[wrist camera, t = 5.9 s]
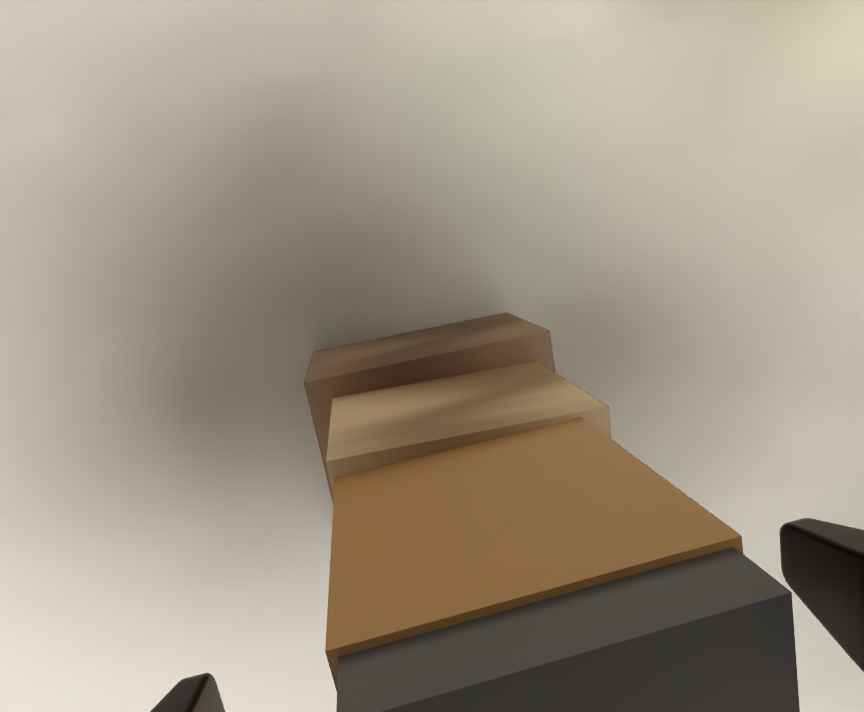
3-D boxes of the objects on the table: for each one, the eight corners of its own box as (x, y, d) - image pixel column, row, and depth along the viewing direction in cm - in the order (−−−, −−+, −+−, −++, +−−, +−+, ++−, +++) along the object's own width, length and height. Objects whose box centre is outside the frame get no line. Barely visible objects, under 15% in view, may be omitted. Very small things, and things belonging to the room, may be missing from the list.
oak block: (535, 360, 14) (608, 406, 10) (556, 543, 15) (629, 648, 11) (332, 398, 13) (326, 461, 10) (369, 584, 14) (376, 710, 11)
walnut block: (505, 311, 18) (549, 330, 14) (532, 486, 19) (579, 548, 15) (314, 351, 17) (303, 382, 13) (355, 529, 18) (357, 605, 14)
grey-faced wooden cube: (581, 417, 10) (800, 579, 5) (613, 629, 11) (822, 935, 6) (334, 478, 10) (321, 719, 5) (390, 693, 11) (426, 1078, 6)
